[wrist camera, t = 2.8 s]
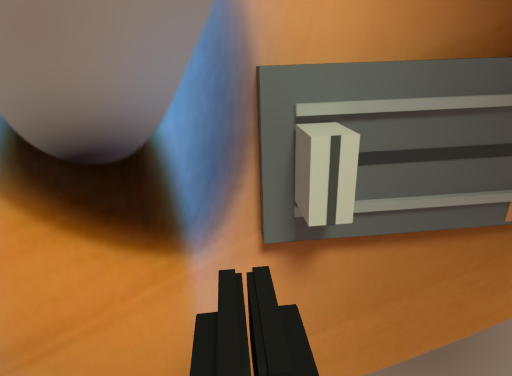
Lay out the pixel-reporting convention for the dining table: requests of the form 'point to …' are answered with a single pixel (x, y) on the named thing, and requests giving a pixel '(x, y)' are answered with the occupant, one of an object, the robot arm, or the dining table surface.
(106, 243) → the dining table surface
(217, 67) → the dining table surface
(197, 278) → the dining table surface
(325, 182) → the fader cap
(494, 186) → the fader board
